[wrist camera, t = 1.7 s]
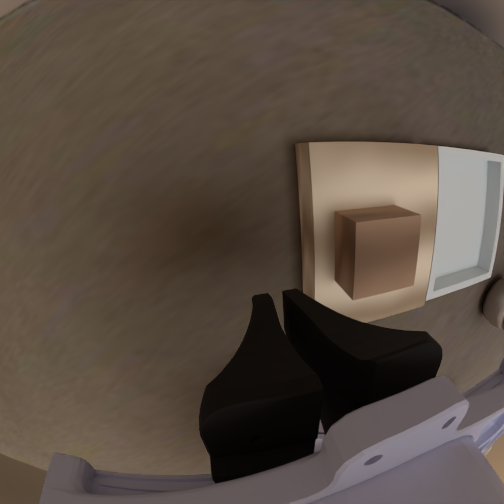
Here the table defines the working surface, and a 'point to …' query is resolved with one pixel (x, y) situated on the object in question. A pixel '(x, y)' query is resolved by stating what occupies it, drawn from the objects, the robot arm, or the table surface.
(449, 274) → the box
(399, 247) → the brown block
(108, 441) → the table surface
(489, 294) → the plastic bottle
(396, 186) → the tan wooden flat block
